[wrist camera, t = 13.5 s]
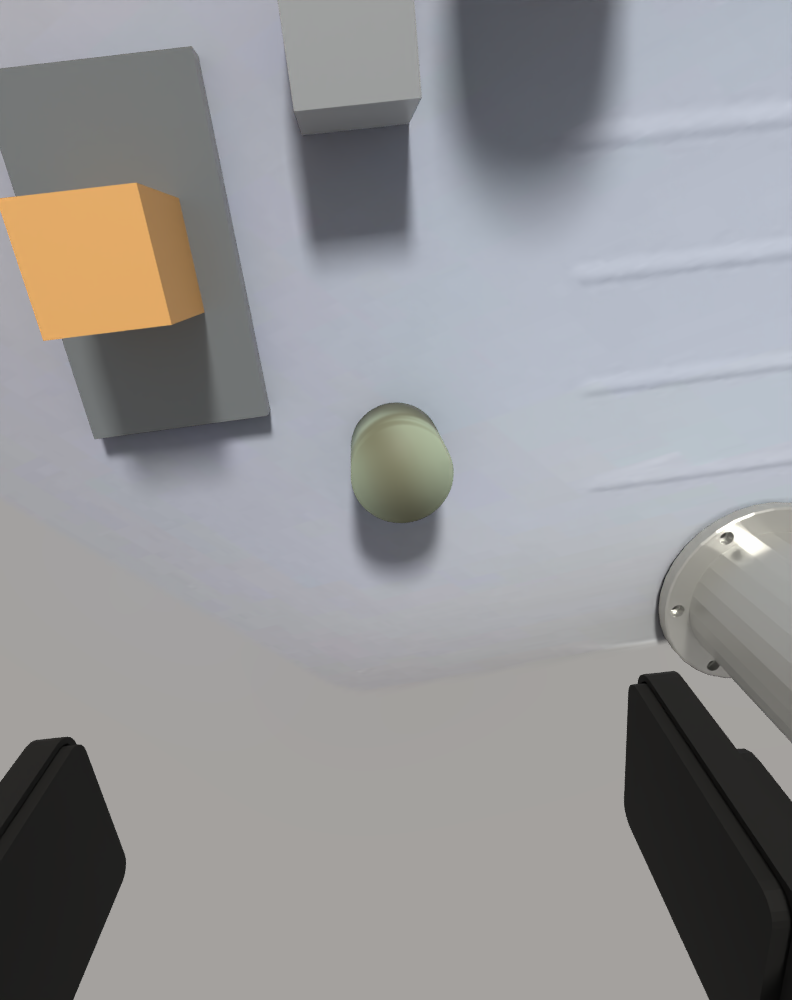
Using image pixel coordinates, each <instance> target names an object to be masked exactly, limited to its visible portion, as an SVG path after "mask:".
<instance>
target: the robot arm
mask: <svg viewBox="0 0 792 1000" xmlns="http://www.w3.org/2000/svg"><path fill="white" fill-rule="evenodd" d="M659 618H660V625H661V628H662V631H663V633H664V636H665V638H666V640H667V641H668V643H669V644H670V645H671V647H672V648H673V650H674V651H675V652H676V653H677V654H678V655H679V656H680V657H681V658H682V660H683V661H684V662H686V663H687V664H689V665H690V666H692V667H693V668H695V669H696V670H698V671H701V672H703V673H705V674H708V675H713V676H718V677H723V678H732V679H733V680H734V681H735V682H736V683H737V684H738V685H739V686H740V687H741V689H742V690H744V692H745V693H746V694H747V695H748V696H749V697H750V698H751V699H752V700H753V702H755V704H756V705H757V706H758V707H759V708H760V709H761V710H762V711H763V712H764V713H765V715H766V716H767V717H768V718H769V719H770V720H771V721H772V722H773V723H774V724H775V725H776V726H777V727H778V728H779V730H780V731H781V732H782V733H783V734H784V735H785V736H786V737H787V738H788V739H789V740H790V741H791V743H792V503H781V502H772V503H765V504H758V505H753V506H750V507H747V508H744V509H740V510H737V511H735V512H733V513H731V514H729V515H727V516H725V517H723V518H721V519H719V520H717V521H715V522H714V523H713V524H711V525H710V526H708V527H707V528H705V529H704V530H703V531H701V532H700V533H699V534H698V535H697V536H696V537H695V538H694V539H693V540H692V541H690V542H689V543H688V544H687V545H686V546H685V548H684V549H683V550H682V552H681V553H680V554H679V555H678V557H677V558H676V559H675V561H674V562H673V564H672V566H671V568H670V570H669V572H668V574H667V575H666V577H665V581H664V584H663V587H662V590H661V593H660V601H659ZM624 807H625V812H626V817H627V820H628V823H629V826H630V828H631V830H632V833H633V835H634V837H635V839H636V841H637V843H638V845H639V848H640V850H641V852H642V854H643V856H644V858H645V861H646V863H647V865H648V867H649V870H650V872H651V874H652V876H653V878H654V880H655V883H656V885H657V887H658V889H659V891H660V893H661V896H662V897H663V900H664V902H665V904H666V906H667V908H668V910H669V913H670V915H671V917H672V920H673V922H674V924H675V926H676V928H677V930H678V933H679V935H680V937H681V939H682V941H683V943H684V946H685V948H686V950H687V952H688V954H689V956H690V959H691V961H692V963H693V965H694V967H695V969H696V972H697V974H698V976H699V978H700V980H701V983H702V985H703V987H704V989H705V991H706V993H707V996H708V998H709V1000H792V801H791V800H790V799H789V798H788V796H787V795H786V794H785V792H783V790H782V789H781V787H780V786H779V785H778V784H777V783H776V781H775V780H774V778H773V777H772V776H771V775H770V773H769V772H768V771H767V770H766V768H765V767H764V766H763V765H762V763H761V762H760V761H759V760H758V759H757V758H756V757H755V756H754V755H753V753H752V752H750V751H748V750H746V749H736V748H735V747H734V745H733V744H732V743H731V741H730V740H729V739H728V738H727V736H726V735H725V733H724V732H723V731H722V729H721V728H720V727H719V725H718V724H717V723H716V721H715V720H714V719H713V718H712V716H711V715H710V714H709V712H708V711H707V710H706V708H705V707H704V706H703V704H702V703H701V702H700V700H699V699H698V698H697V696H696V695H695V694H694V693H693V691H692V690H691V689H690V687H689V686H688V685H687V683H686V682H685V681H684V680H683V678H682V677H681V676H680V675H679V674H678V673H677V672H675V671H671V672H661V673H653V674H643V675H641V676H640V677H639V679H638V684H634V685H630V687H629V692H628V716H627V741H626V766H625V791H624ZM125 869H126V858H125V854H124V852H123V849H122V846H121V844H120V840H119V838H118V835H117V832H116V830H115V827H114V824H113V822H112V819H111V816H110V814H109V811H108V808H107V806H106V803H105V801H104V798H103V795H102V792H101V790H100V787H99V784H98V782H97V779H96V776H95V774H94V771H93V768H92V765H91V763H90V760H89V757H88V755H87V752H86V750H85V748H84V747H83V746H82V745H77V744H76V742H75V741H74V740H73V739H72V738H71V737H61V738H52V739H43V740H35V741H33V742H31V743H30V744H29V745H28V746H27V747H26V748H25V749H24V751H23V752H22V753H21V755H20V756H19V757H18V759H17V760H16V761H15V763H14V764H13V766H12V767H11V768H10V770H9V771H8V772H7V774H6V775H5V776H4V778H3V779H2V780H1V782H0V1000H73V999H74V996H75V994H76V992H77V989H78V987H79V984H80V982H81V979H82V977H83V975H84V972H85V970H86V968H87V965H88V963H89V960H90V958H91V955H92V953H93V951H94V948H95V946H96V944H97V941H98V939H99V936H100V934H101V932H102V929H103V927H104V924H105V922H106V919H107V917H108V915H109V913H110V910H111V908H112V905H113V903H114V900H115V898H116V895H117V893H118V891H119V888H120V886H121V884H122V881H123V878H124V874H125Z"/></svg>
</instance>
